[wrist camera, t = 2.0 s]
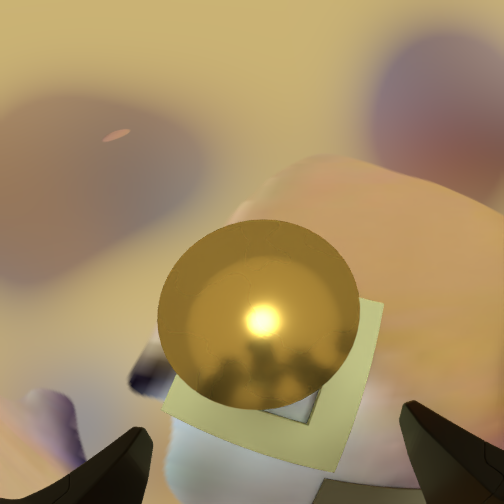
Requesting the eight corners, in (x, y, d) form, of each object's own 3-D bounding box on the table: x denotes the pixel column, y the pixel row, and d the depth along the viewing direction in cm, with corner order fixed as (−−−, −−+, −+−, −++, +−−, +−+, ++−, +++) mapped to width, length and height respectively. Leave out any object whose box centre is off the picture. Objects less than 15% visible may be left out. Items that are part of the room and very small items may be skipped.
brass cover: (304, 418, 17) (324, 438, 6) (224, 392, 18) (127, 359, 7) (330, 341, 19) (374, 242, 8) (253, 319, 21) (206, 205, 10)
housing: (329, 466, 14) (334, 472, 13) (173, 410, 18) (160, 409, 16) (376, 314, 20) (384, 303, 18) (232, 275, 23) (226, 262, 22)
